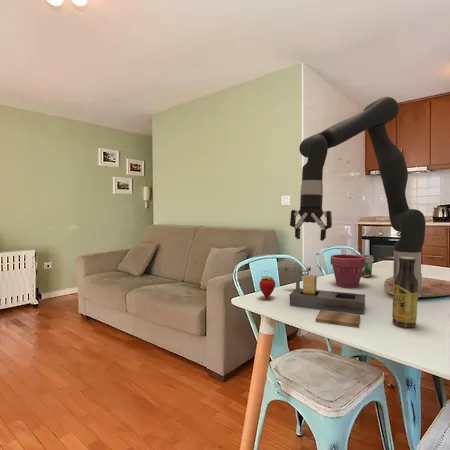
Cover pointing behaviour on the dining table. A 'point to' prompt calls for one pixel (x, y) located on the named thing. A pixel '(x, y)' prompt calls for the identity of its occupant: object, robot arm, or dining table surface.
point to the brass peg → (309, 284)
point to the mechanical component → (297, 273)
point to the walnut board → (338, 318)
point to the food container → (367, 266)
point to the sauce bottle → (405, 294)
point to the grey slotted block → (329, 301)
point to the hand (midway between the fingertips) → (309, 239)
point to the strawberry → (267, 286)
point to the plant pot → (347, 269)
